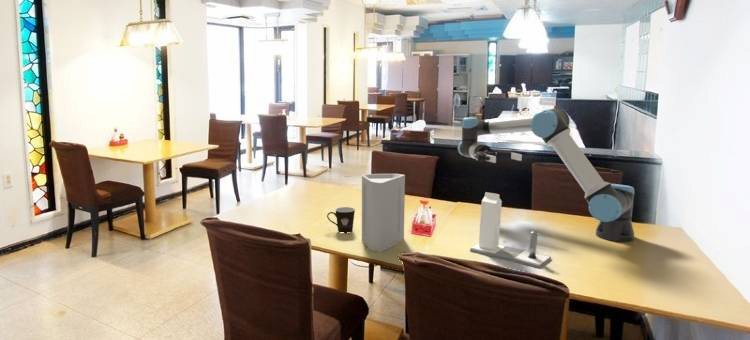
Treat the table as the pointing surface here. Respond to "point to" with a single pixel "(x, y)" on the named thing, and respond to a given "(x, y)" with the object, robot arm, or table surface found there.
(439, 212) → the table surface
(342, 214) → the coffee mug
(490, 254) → the plate
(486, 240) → the milk
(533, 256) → the steel pin
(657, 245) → the table surface
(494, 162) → the robot arm
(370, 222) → the tall triangular prism
